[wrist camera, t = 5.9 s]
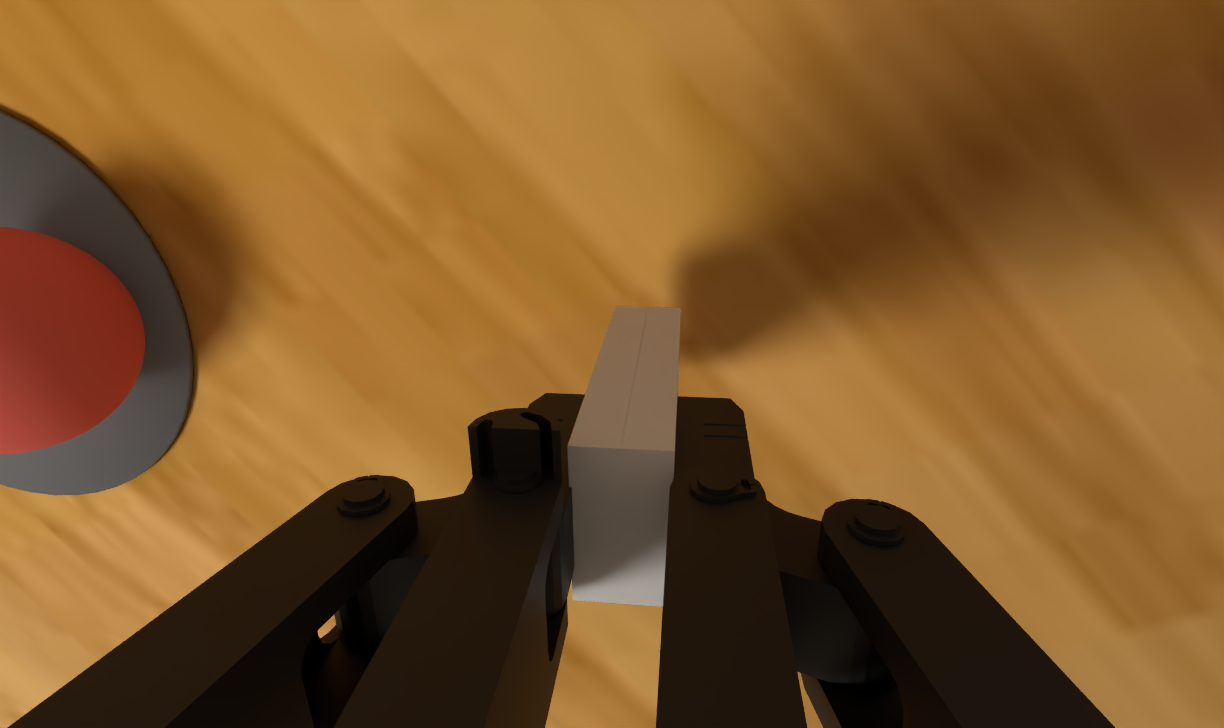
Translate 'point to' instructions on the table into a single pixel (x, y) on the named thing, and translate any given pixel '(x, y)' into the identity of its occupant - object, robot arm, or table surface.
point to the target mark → (107, 230)
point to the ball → (61, 341)
